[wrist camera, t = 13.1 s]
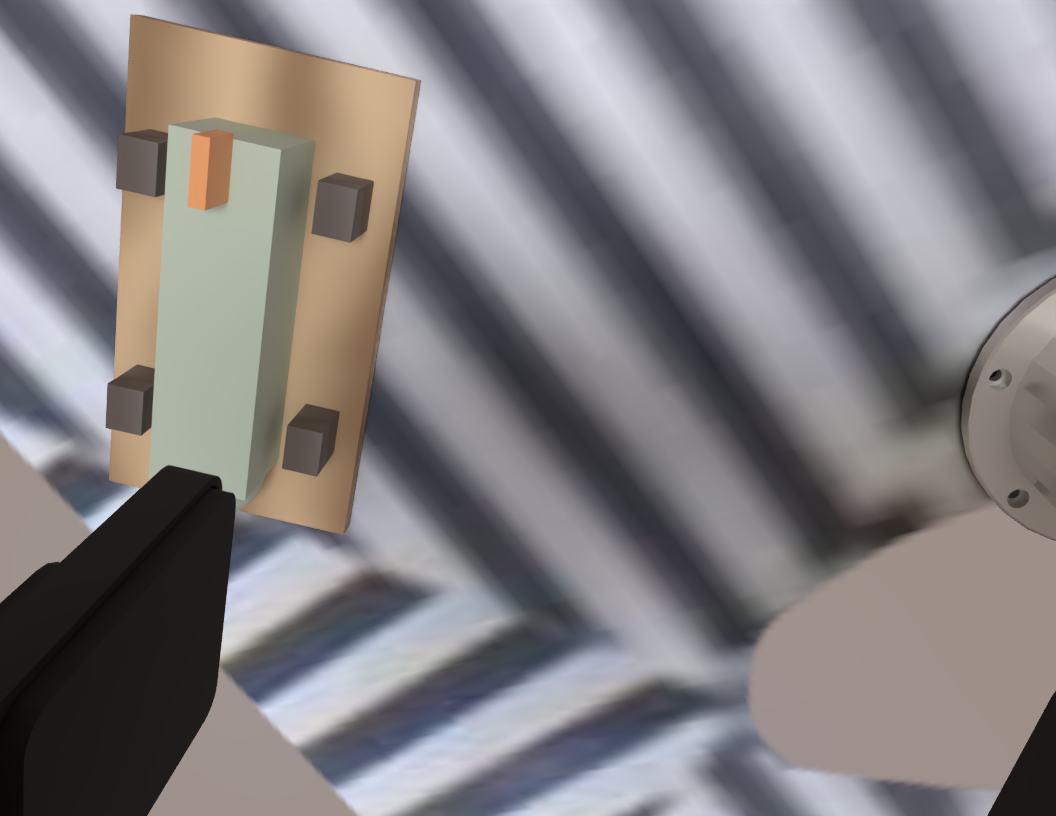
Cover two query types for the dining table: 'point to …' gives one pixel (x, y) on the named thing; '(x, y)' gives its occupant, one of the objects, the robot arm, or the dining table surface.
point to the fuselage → (227, 298)
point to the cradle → (328, 252)
